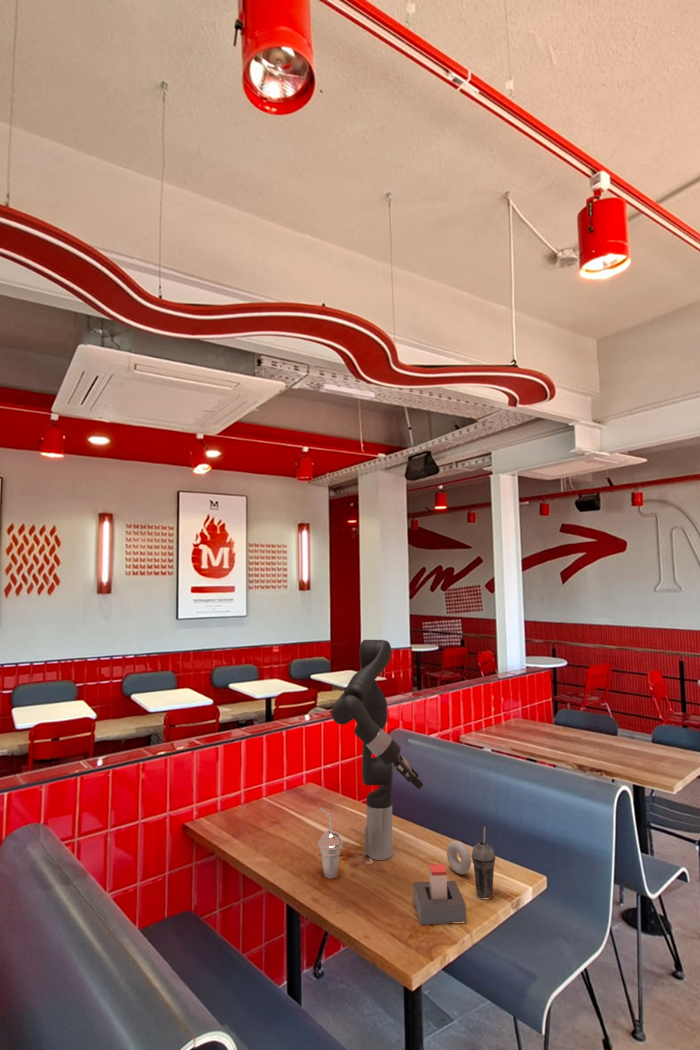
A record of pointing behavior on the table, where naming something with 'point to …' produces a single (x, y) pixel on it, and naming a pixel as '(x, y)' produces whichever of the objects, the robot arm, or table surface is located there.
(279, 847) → the table surface
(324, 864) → the cup with straw
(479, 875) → the beverage cup
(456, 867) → the donut
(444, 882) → the plug peg
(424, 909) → the square socket housing
